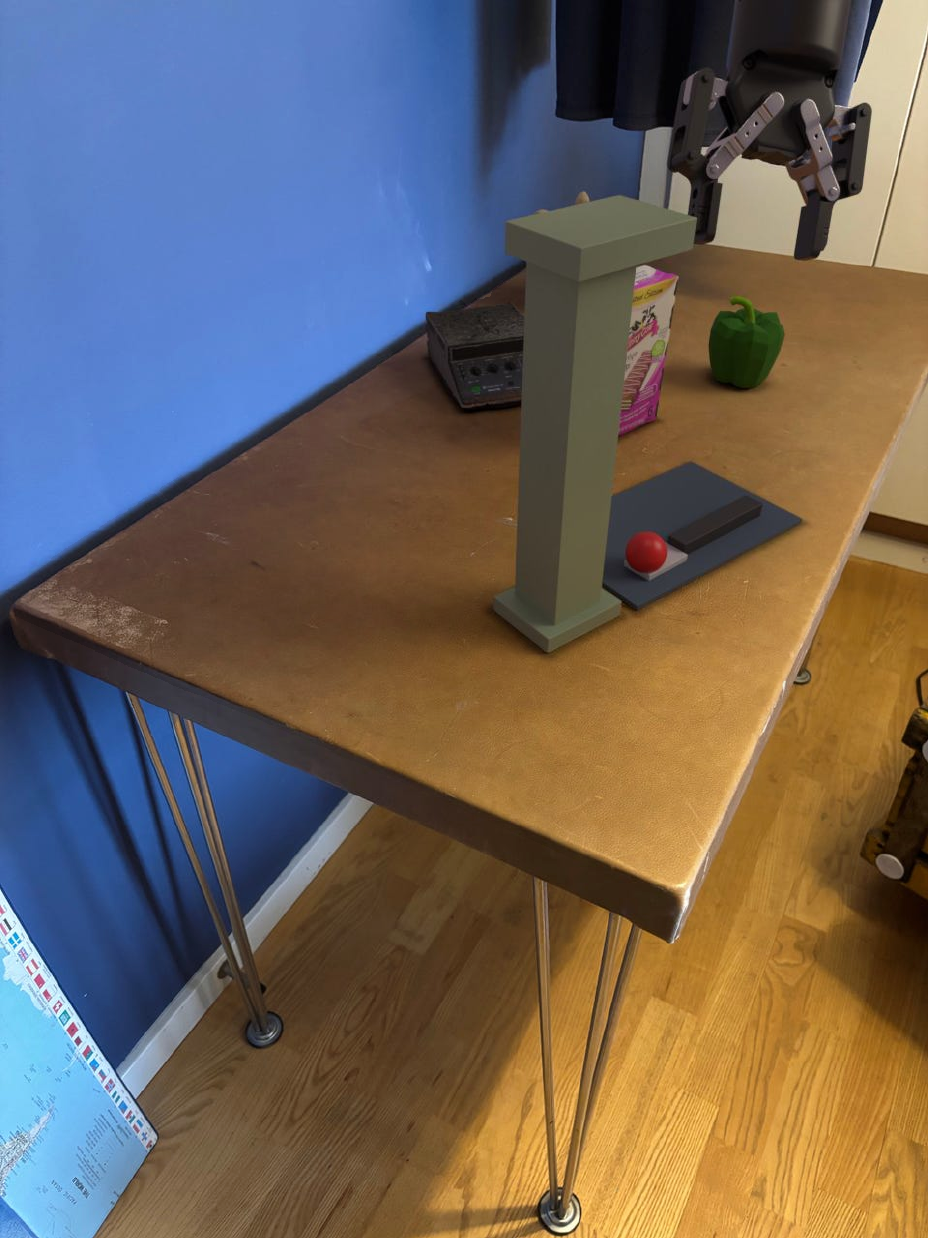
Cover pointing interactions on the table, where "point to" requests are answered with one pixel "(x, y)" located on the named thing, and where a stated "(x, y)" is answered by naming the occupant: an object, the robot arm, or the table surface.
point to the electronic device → (478, 354)
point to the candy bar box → (647, 346)
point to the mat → (670, 509)
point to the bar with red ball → (686, 538)
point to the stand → (575, 402)
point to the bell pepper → (744, 344)
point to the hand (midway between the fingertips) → (754, 250)
